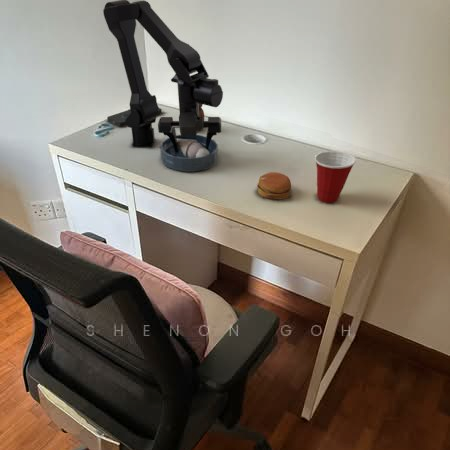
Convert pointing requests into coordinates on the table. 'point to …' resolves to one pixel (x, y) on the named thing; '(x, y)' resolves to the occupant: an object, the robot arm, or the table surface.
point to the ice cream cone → (191, 148)
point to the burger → (274, 185)
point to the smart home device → (122, 118)
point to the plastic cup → (332, 174)
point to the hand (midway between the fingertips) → (191, 152)
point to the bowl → (188, 164)
